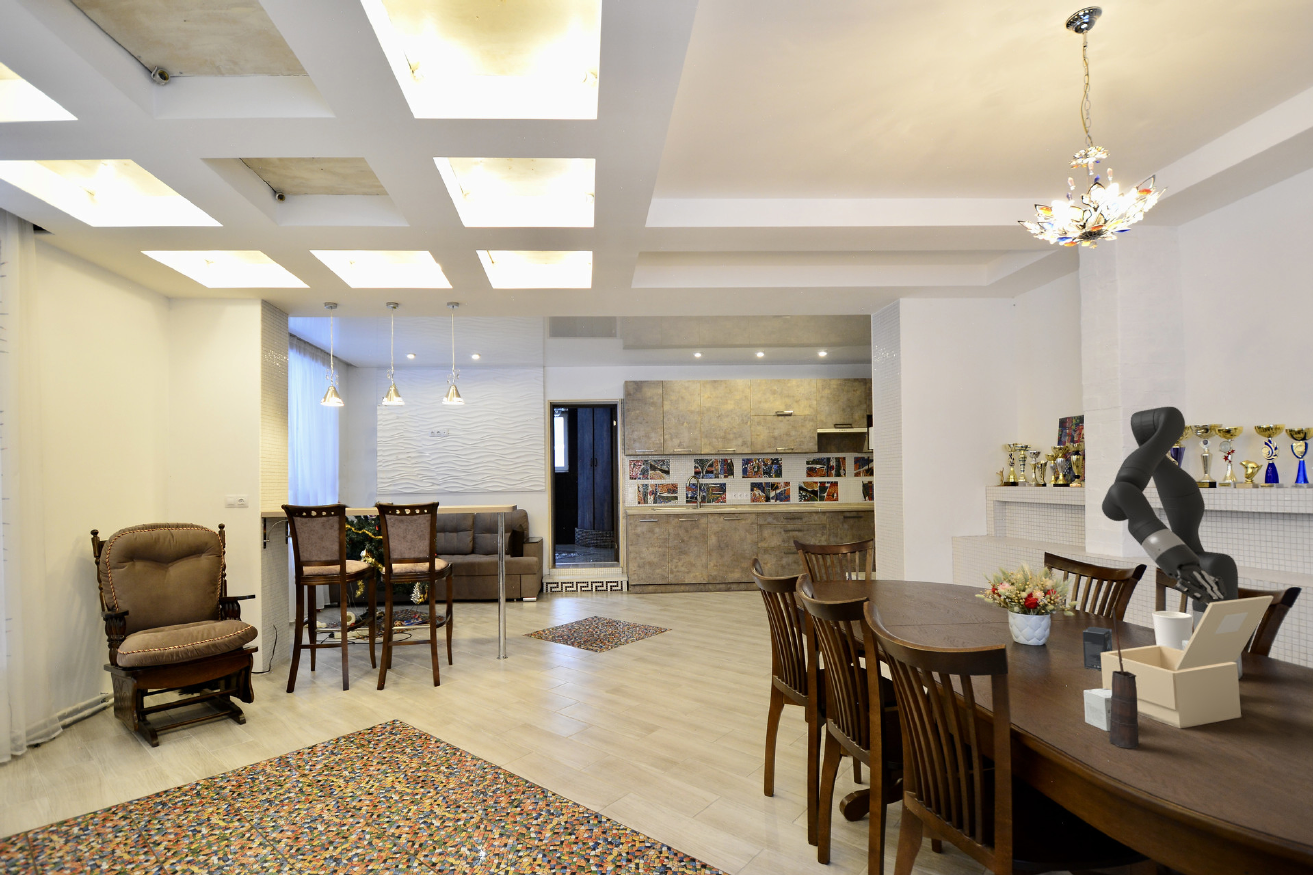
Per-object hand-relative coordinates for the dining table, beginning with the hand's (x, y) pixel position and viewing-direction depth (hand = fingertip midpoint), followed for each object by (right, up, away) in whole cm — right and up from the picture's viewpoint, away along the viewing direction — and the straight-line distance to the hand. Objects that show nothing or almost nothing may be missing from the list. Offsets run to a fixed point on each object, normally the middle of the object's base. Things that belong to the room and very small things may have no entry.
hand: (1229, 616), depth 148 cm
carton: (-3, -25, +13) cm, 29 cm away
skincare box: (-24, -26, +4) cm, 35 cm away
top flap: (0, -4, +2) cm, 4 cm away
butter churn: (-27, -25, -7) cm, 37 cm away
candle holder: (+32, -27, +58) cm, 71 cm away
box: (+3, -27, +48) cm, 55 cm away
